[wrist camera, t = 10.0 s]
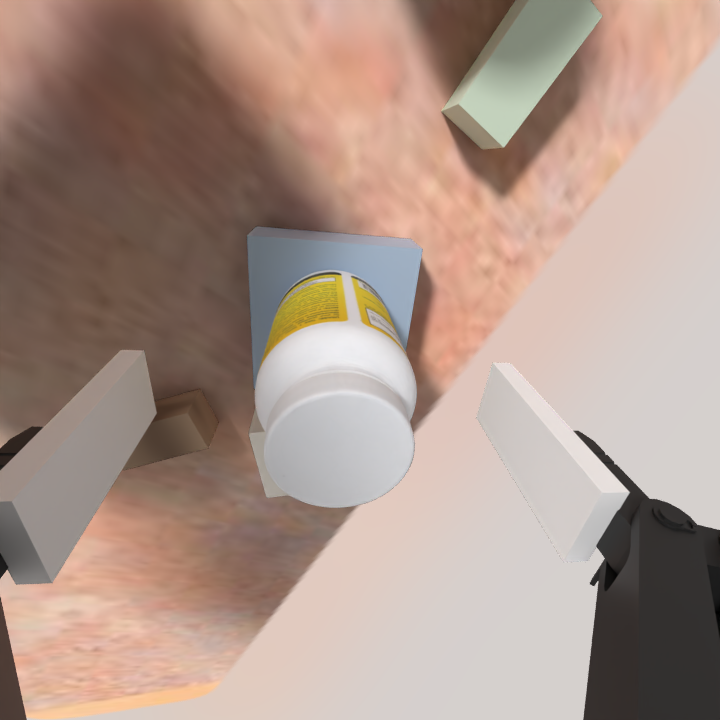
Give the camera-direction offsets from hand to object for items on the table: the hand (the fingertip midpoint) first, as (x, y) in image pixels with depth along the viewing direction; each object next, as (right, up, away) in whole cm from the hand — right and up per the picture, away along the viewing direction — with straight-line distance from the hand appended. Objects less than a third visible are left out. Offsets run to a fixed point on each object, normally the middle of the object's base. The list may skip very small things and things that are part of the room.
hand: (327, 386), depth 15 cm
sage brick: (+8, +16, +5) cm, 18 cm away
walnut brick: (-12, -3, +12) cm, 18 cm away
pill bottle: (0, +3, +7) cm, 8 cm away
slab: (-1, +5, +9) cm, 10 cm away
